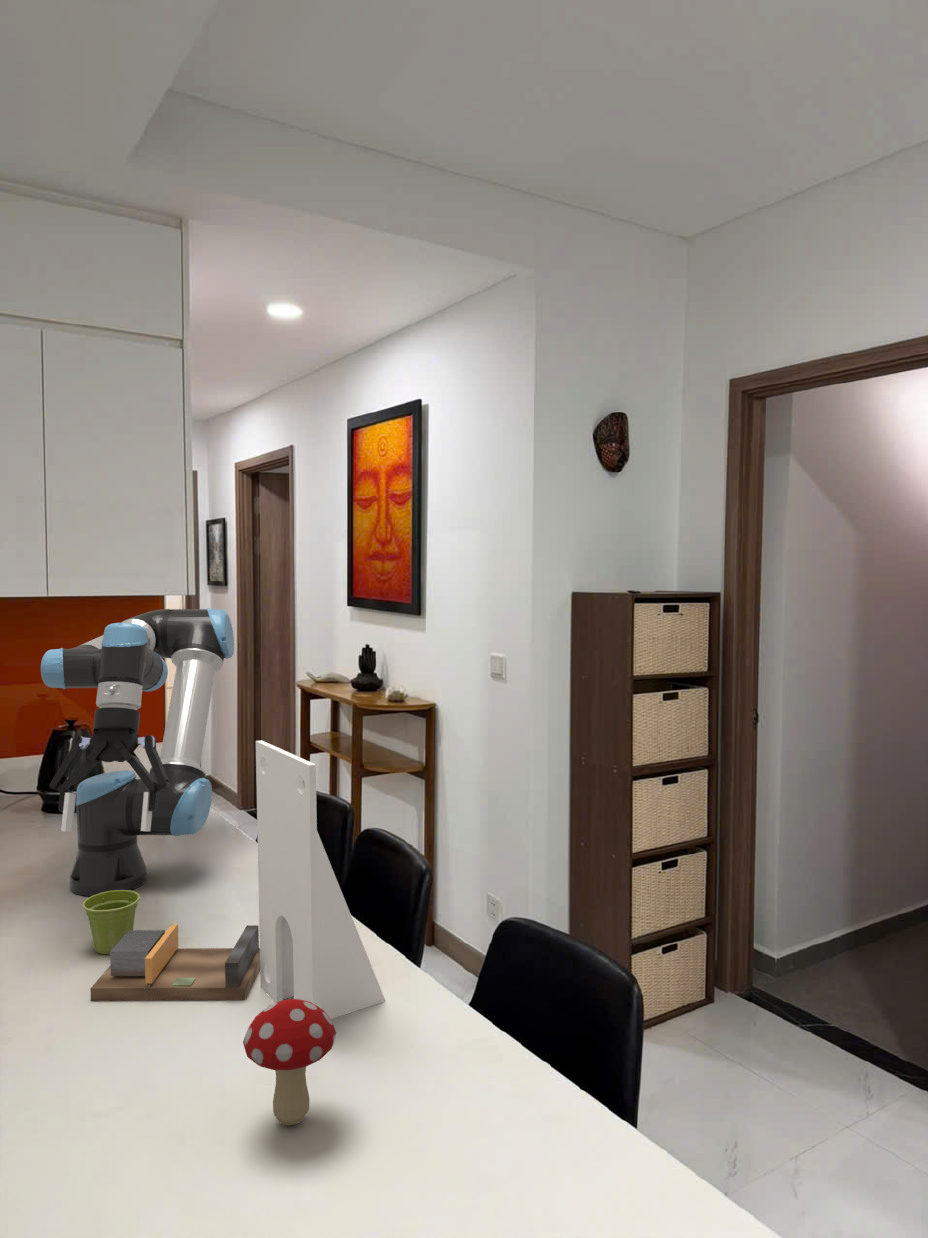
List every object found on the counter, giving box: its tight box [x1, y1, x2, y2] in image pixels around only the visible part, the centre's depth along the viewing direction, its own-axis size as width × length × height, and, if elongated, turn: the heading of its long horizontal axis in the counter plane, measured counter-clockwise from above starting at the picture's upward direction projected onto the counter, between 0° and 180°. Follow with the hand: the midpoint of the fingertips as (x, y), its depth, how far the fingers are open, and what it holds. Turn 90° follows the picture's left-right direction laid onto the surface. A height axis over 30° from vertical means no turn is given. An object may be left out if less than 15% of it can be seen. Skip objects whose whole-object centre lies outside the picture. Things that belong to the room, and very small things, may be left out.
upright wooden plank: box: [145, 923, 179, 983], centre depth 145 cm, size 13×1×4 cm, turn 0°
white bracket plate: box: [255, 740, 386, 1020], centre depth 137 cm, size 20×14×40 cm
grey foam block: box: [109, 929, 166, 976], centre depth 145 cm, size 8×6×4 cm
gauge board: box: [90, 924, 260, 1002], centre depth 145 cm, size 14×24×6 cm, turn 90°
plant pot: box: [82, 890, 141, 955], centre depth 157 cm, size 9×9×9 cm
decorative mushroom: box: [242, 998, 337, 1126], centre depth 108 cm, size 11×11×15 cm
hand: (105, 831), depth 152 cm, fingers open, 13 cm apart
